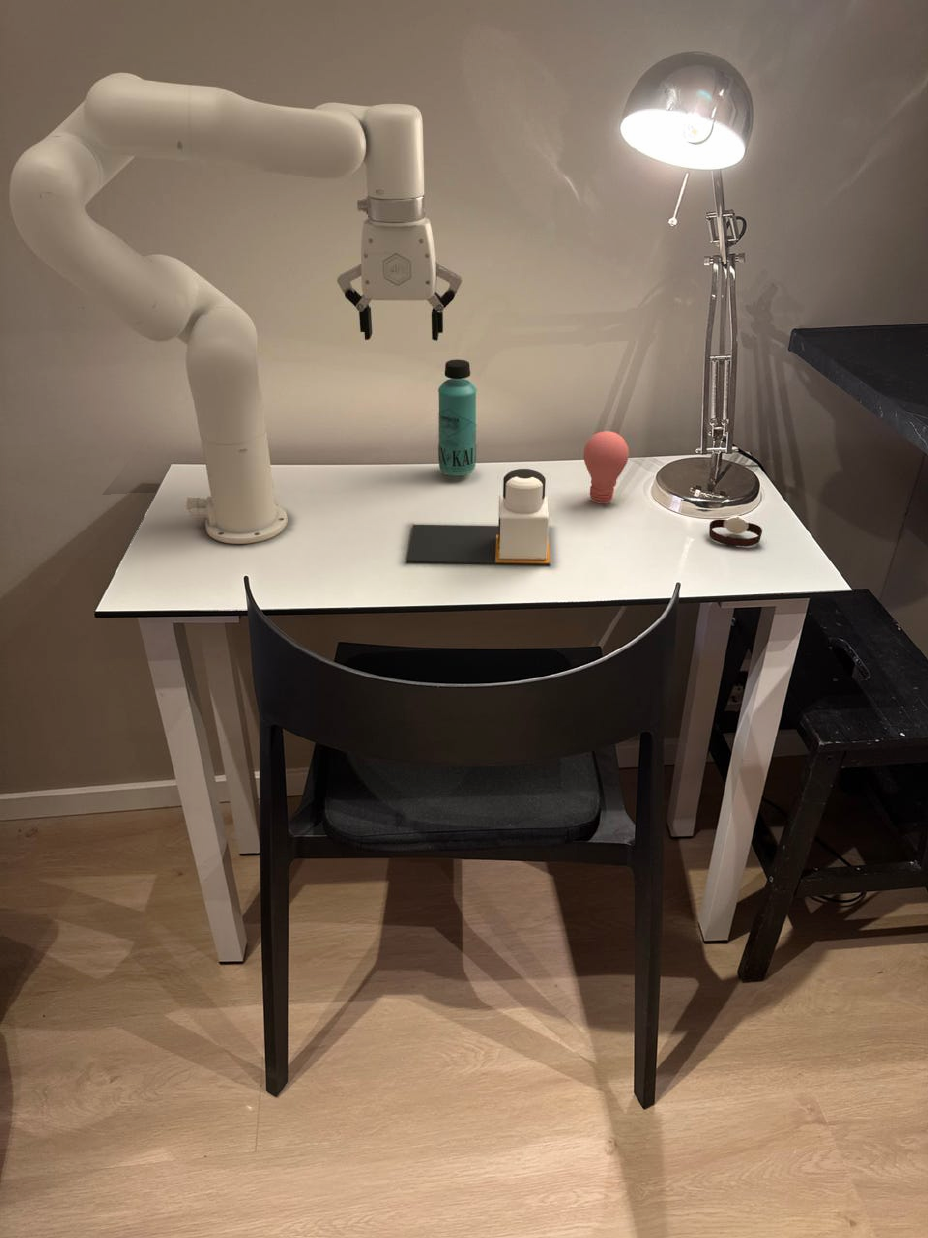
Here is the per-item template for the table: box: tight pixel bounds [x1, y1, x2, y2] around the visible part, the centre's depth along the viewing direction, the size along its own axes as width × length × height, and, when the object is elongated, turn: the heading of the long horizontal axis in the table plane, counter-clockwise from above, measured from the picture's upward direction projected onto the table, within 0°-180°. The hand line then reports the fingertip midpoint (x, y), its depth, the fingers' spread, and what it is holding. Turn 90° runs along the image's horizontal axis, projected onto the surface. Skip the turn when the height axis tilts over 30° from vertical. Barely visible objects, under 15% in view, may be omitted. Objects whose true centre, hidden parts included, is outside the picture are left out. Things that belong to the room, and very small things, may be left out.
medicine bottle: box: [497, 468, 550, 560], centre depth 139 cm, size 7×7×12 cm
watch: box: [708, 515, 763, 548], centre depth 144 cm, size 8×5×4 cm, turn 72°
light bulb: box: [582, 430, 630, 504], centre depth 152 cm, size 7×7×12 cm
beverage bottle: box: [437, 358, 478, 476], centre depth 158 cm, size 6×7×20 cm
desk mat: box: [405, 524, 551, 566], centre depth 144 cm, size 21×11×1 cm, turn 87°
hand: (402, 337), depth 137 cm, fingers open, 9 cm apart
